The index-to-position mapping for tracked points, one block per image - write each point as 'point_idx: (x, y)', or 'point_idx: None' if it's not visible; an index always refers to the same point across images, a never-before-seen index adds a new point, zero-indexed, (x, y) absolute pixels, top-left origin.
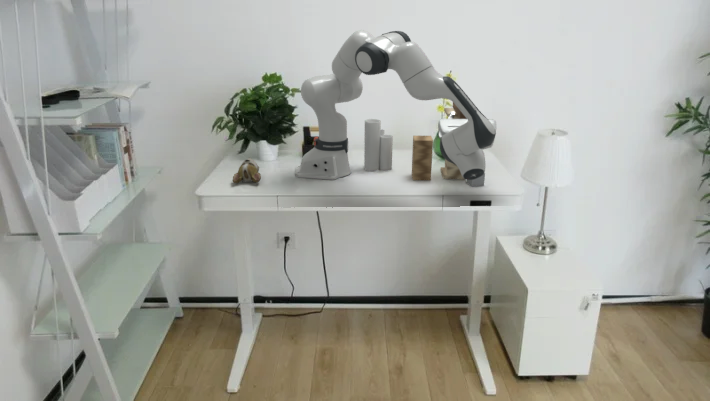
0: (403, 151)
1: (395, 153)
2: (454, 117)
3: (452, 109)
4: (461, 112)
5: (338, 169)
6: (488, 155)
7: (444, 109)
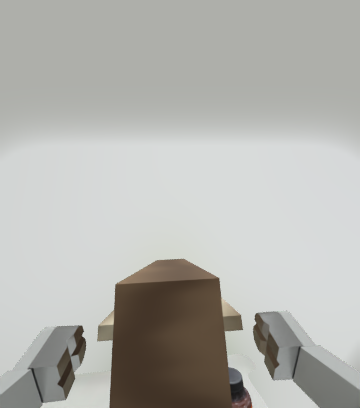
0: (95, 390)
1: (71, 403)
2: None
3: None
4: (123, 336)
5: None
6: (256, 391)
7: None
